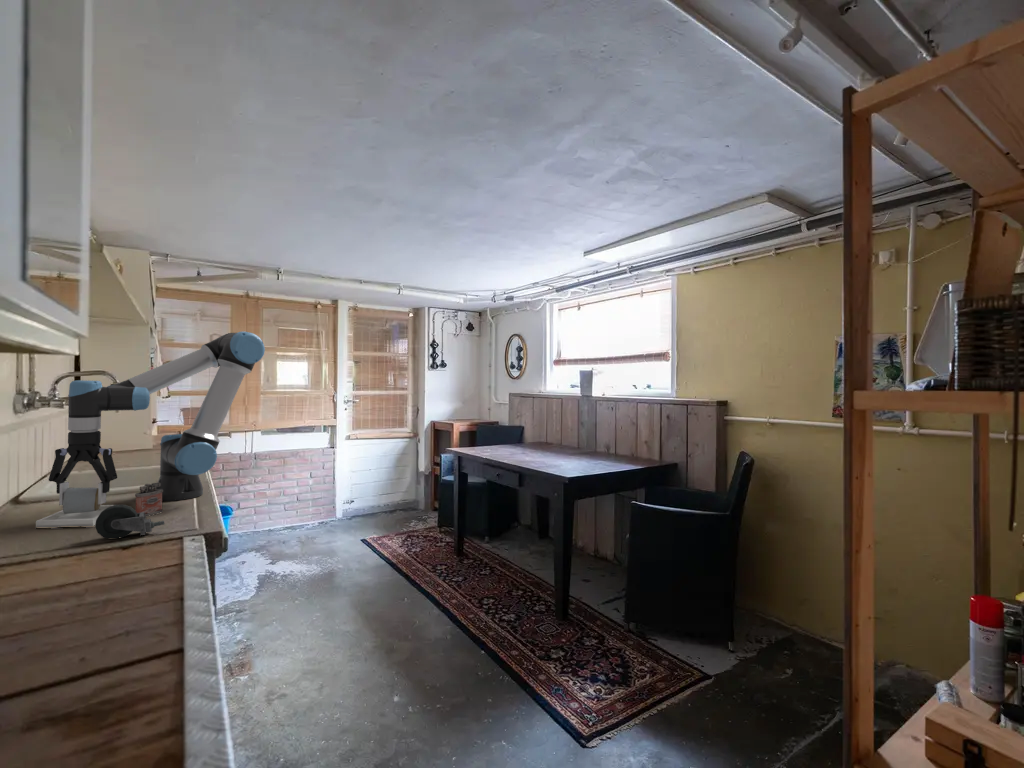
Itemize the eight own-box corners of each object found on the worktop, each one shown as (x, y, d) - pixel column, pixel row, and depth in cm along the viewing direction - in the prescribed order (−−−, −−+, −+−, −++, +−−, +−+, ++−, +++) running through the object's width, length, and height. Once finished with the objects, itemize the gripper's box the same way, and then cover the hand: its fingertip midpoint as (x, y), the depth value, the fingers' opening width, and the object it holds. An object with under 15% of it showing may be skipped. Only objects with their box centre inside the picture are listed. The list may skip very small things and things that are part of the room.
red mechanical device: (139, 518, 150) (140, 487, 150) (131, 517, 151) (132, 485, 151) (165, 512, 158) (165, 481, 158) (157, 510, 159) (158, 480, 159)
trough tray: (123, 511, 157) (123, 504, 156) (92, 527, 141) (93, 519, 141) (72, 512, 153) (73, 505, 153) (35, 528, 138) (36, 521, 138)
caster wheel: (96, 547, 129) (164, 532, 137) (92, 512, 128) (161, 499, 137) (99, 540, 134) (165, 527, 142) (95, 506, 133) (162, 495, 141)
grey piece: (97, 513, 146) (98, 488, 146) (61, 516, 142) (62, 490, 142) (104, 505, 155) (104, 481, 155) (70, 508, 151) (70, 483, 151)
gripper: (132, 429, 153) (131, 499, 153) (50, 428, 148) (49, 501, 148) (119, 432, 146) (117, 506, 146) (32, 431, 141) (31, 507, 141)
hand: (83, 503), depth 147 cm, fingers closed on grey piece, 9 cm apart
